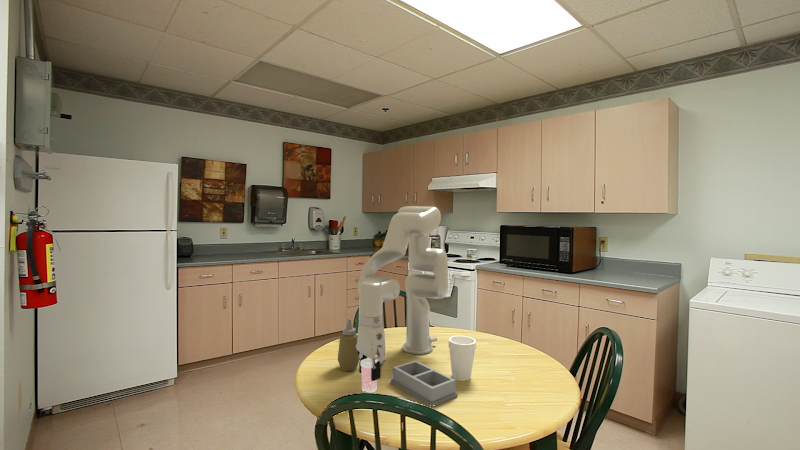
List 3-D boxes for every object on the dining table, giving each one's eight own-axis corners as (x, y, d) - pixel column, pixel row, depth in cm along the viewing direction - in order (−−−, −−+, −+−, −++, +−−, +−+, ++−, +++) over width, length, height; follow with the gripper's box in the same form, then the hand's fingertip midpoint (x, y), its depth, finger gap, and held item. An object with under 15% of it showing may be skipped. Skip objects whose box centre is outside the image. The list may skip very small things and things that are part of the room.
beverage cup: (363, 384, 125) (364, 342, 125) (381, 386, 124) (382, 344, 123) (357, 392, 119) (357, 348, 119) (375, 395, 118) (376, 350, 117)
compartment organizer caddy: (390, 382, 127) (390, 367, 127) (415, 374, 134) (415, 359, 134) (431, 407, 111) (432, 390, 111) (457, 396, 118) (458, 380, 118)
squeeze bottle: (355, 374, 133) (356, 323, 132) (334, 371, 134) (334, 321, 134) (362, 365, 141) (363, 316, 140) (342, 362, 142) (342, 315, 142)
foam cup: (476, 373, 135) (477, 337, 135) (473, 384, 126) (474, 346, 126) (450, 369, 138) (451, 334, 138) (445, 380, 129) (445, 342, 129)
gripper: (396, 324, 116) (395, 382, 117) (365, 312, 130) (364, 364, 131) (376, 329, 112) (375, 389, 112) (346, 315, 125) (345, 369, 126)
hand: (369, 375), depth 121 cm, fingers closed on beverage cup, 6 cm apart
